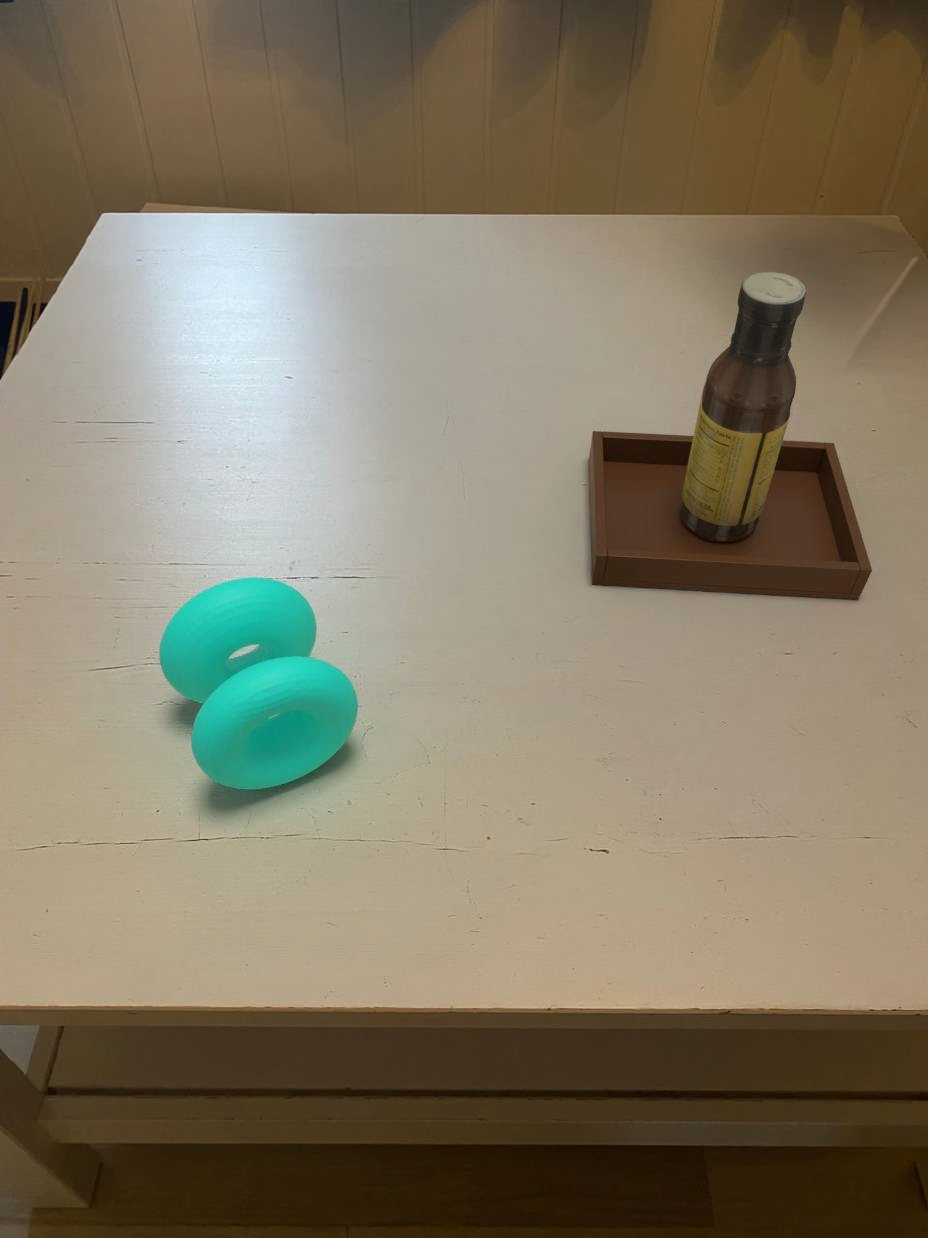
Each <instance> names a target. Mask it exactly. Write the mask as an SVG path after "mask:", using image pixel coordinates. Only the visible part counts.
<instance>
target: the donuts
mask: <svg viewBox="0 0 928 1238" xmlns="http://www.w3.org/2000/svg"><path fill="white" fill-rule="evenodd" d="M317 626H318V625H317V620H316V615H315V612H314V609H313V608H312V606H311V604H310V603H309V601H308V600H307V598H306V597H305V596H304V595H303V594H302V593H301V592H300V591H298V590H297V589H296V588H295V587H293V586H291V585H289V584H287V583H285V582H282V581H280V580H276V579H273V578H268V577H257V576H256V577H240V578H235V579H232V580H231V579H230V580H228V581H224V582H221V583H218V584H215V585H212V586H210V587H209V588H206V589H204V590H202V591H200V592H198V593H197V594H196V595H194V596H193V597H191V598H190V599H189V600H188V601H186V602H185V603H184V604H183V605H182V606H181V607H180V608H179V609H178V610H177V611H176V613H174V615H173V616H172V617H171V619H170V620H169V621H168V622H167V625H166V627H165V629H164V631H163V633H162V637H161V639H160V642H159V643H160V644H159V651H158V652H159V654H158V655H159V664H160V668H161V670H162V673H163V676H164V677H165V679H166V681H167V682H168V683H169V684H170V686H171V687H172V688H173V689H174V690H175V691H176V692H178V693H179V694H180V695H182V696H183V697H185V698H187V699H188V700H191V701H194V702H196V703H200V704H201V705H202V706H201V707H200V709H199V711H198V713H197V714H196V717H195V719H194V722H193V725H192V730H191V735H190V736H191V737H190V738H191V739H190V741H191V742H190V743H191V750H192V754H193V757H194V760H195V762H196V764H197V766H198V767H199V768H200V770H202V772H203V773H204V774H205V775H206V776H207V777H209V778H210V779H212V780H213V781H215V782H216V783H218V784H220V785H223V786H226V787H229V788H233V789H240V790H262V789H263V790H264V789H269V788H275V787H278V786H282V785H285V784H288V783H290V782H293V781H296V780H298V779H300V778H302V777H304V776H306V775H308V774H310V773H311V772H313V771H315V770H316V769H318V768H320V767H321V766H322V765H323V764H325V763H327V762H328V761H329V760H330V759H331V758H332V757H333V756H334V755H335V754H337V753H338V751H339V750H340V749H341V748H342V747H343V745H345V743H346V741H347V740H348V739H349V738H350V737H349V736H350V735H351V733H352V731H353V729H354V727H355V725H356V722H357V718H358V717H357V716H358V711H359V710H358V709H359V703H358V702H359V701H358V697H357V692H356V689H355V687H354V684H353V683H352V681H351V680H350V678H349V677H348V676H347V675H346V674H345V673H344V671H342V670H341V669H339V668H338V667H337V666H335V665H333V664H331V663H330V662H328V661H325V660H322V659H319V658H314V657H311V654H312V652H313V649H314V647H315V644H316V638H317V629H318V627H317ZM255 645H256V647H254V649H252V650H250V651H249V652H247V653H244V654H242V655H238V656H235V657H232V655H233V654H234V653H236V652H238V651H239V650H241V649H244V648H247V647H250V646H255ZM257 645H258V646H257Z"/></svg>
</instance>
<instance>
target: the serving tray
mask: <svg viewBox="0 0 928 1238" xmlns="http://www.w3.org/2000/svg"><path fill="white" fill-rule="evenodd" d="M693 436H694V435H683V434H682V435H681V434H666V433H665V434H664V433H663V434H662V433H644V432H643V433H642V432H641V433H640V432H624V431H623V432H622V431H621V432H620V431H606V430H605V431H599V430H593V431H592V435H591V441H590V448H589V456H588V480H589V481H588V483H589V485H588V487H589V522H590V523H589V524H590V525H589V526H590V528H589V529H590V563H591V564H590V565H591V566H590V567H591V584H592V585H595V586H596V585H597V586H616V587H631V588H648V589H650V588H651V589H664V590H666V589H668V590H682V591H683V590H684V591H700V592H717V593H718V592H720V593H734V594H735V593H736V594H752V595H753V594H756V595H770V596H771V595H772V596H788V597H789V596H790V597H805V598H823V599H842V600H859V599H860V597H861V595H862V593H863V591H864V589H865V586H866V584H867V583H868V580H869V578H870V576H871V574H872V572H873V568H872V565H871V563H870V562H871V561H870V559H869V556H868V555H869V554H868V551H867V549H866V545H865V542H864V538H863V536H862V533H861V532H862V531H861V529H860V526H859V523H858V519H857V516H856V512H855V509H854V505H853V502H852V499H851V495H850V492H849V488H848V486H847V482H846V479H845V475H844V473H843V469H842V466H841V463H840V459H839V456H838V452H837V449H836V446H835V442H825V441H824V442H823V441H821V442H820V441H803V440H800V441H799V440H784V439H783V441H782V445H781V448H780V452H779V455H778V458H777V462H776V465H775V469H774V472H773V476H772V479H771V483H770V486H769V490H768V493H767V497H766V500H765V504H764V507H763V510H762V512H761V514H760V515H759V521H758V523H757V525H756V527H755V528H754V529H753V531H751V533H750V534H748V535H747V536H746V537H744V538H743V539H741V540H738V541H734V542H716V541H709V540H706V539H703V538H701V537H700V536H699V535H697V534H695V533H694V532H693V531H691V530H690V529H689V528H688V527H687V526H686V525H685V524H684V522H683V520H682V517H681V504H682V501H683V498H682V491H683V486H684V480H685V475H686V471H687V466H688V461H689V456H690V451H691V446H692V441H693Z"/></svg>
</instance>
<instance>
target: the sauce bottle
mask: <svg viewBox="0 0 928 1238" xmlns="http://www.w3.org/2000/svg"><path fill="white" fill-rule="evenodd" d="M740 284H741V285H740V288H739V292H738V296H737V307H738V311H737V315H736V321H735V326H734V331H733V333H732V335H731V337H730V344H729V346H727V348H726V349H724V350H723V351H722V352H721V353H720V354H719V355H718V356H717V357H716V358H715V359H714V361H712V363H711V365H710V368H709V370H708V372H707V375H706V380H705V382H704V385H703V389H702V392H701V396H700V402H699V407H698V412H697V417H696V422H695V427H694V432H693V435H692V436H693V441H692V446H691V451H690V456H689V461H688V466H687V471H686V475H685V480H684V486H683V491H682V498H683V501H682V504H681V517H682V520H683V522H684V524H685V525H686V526H687V527H688V528H689V529H690V530H691V531H693V532H694V533H695V534H697V535H699V536H700V537H701V538H703V539H706V540H709V541H716V542H734V541H738V540H741V539H743V538H744V537H746V536H747V535H748V534H750V533H751V531H753V529H754V528H755V527H756V525H757V523H758V521H759V515H760V514H761V512H762V510H763V507H764V504H765V500H766V497H767V493H768V490H769V486H770V483H771V479H772V476H773V472H774V469H775V465H776V462H777V458H778V455H779V452H780V448H781V445H782V441H783V440H784V437H785V434H786V430H787V427H788V424H789V421H790V417H791V407H792V404H793V401H794V398H795V396H796V389H797V375H796V372H795V369H794V366H793V363H792V360H791V359H790V356H789V353H790V350H791V349H792V339H793V333H794V330H795V326H796V322H797V319H798V318H799V316H800V315H801V313H802V311H803V309H804V305H805V299H806V295H807V290H806V289H807V288H806V286H805V285H804V283H802V282H801V280H799V279H798V278H797V277H795V276H793V275H789V274H787V273H783V272H777V271H762V272H755V273H753V274H750V275H749V276H748V277H747V278H746V279H743V281H742V282H741V283H740Z"/></svg>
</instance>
